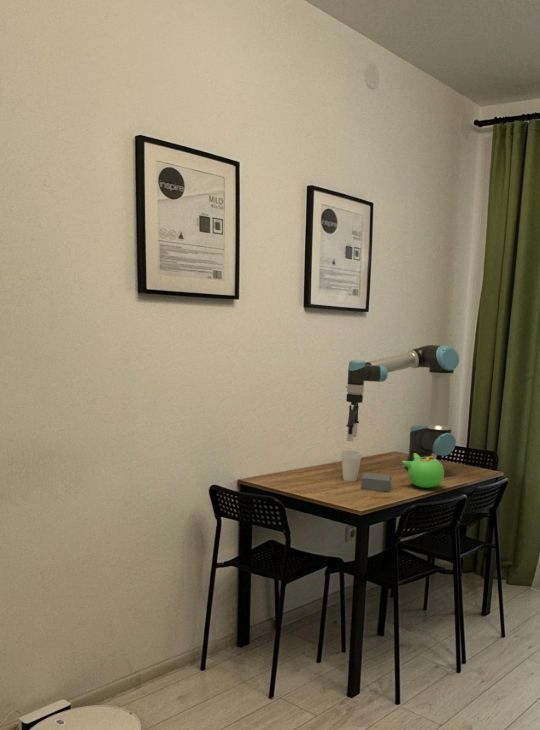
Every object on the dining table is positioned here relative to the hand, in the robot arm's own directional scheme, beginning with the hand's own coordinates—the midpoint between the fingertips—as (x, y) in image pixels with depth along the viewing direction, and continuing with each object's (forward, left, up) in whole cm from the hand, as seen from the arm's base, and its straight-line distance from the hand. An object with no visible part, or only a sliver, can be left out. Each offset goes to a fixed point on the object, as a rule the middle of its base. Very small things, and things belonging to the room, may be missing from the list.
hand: (351, 439), depth 291 cm
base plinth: (+10, +13, -19) cm, 25 cm away
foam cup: (0, 0, -19) cm, 19 cm away
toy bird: (-2, +34, -19) cm, 39 cm away
